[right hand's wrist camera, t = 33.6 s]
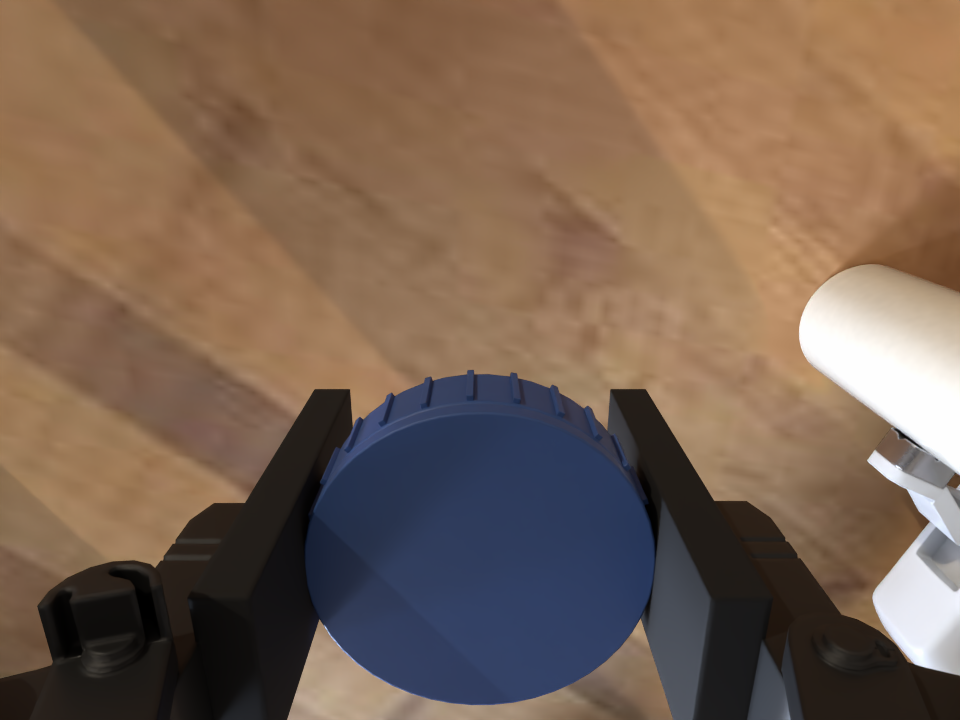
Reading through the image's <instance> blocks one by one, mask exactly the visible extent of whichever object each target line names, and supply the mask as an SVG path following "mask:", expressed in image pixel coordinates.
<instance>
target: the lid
mask: <svg viewBox="0 0 960 720" xmlns="http://www.w3.org/2000/svg"><path fill="white" fill-rule="evenodd" d="M320 483H321V486H320V489H319V491H318V493H317V496H316V498H315V500H314V503H313V505H312V507H311V509H310V512H309V514H308V517H309V520H310V521H309V524H308V529H307V534H306V539H305V545H304V558H305V568H306V577H307V586H308V590H309V594H310V597H311V600H312V603H313V605H314V608H315V610H316V612H317V614H318V616H319V619H320V620H321V622H322V623H323V625H324V627H325V628H326V630H327V631H328V633H329V634H330V636H331V637H332V638H333V639H334V641H335V642H336V643H337V644H338V645H339V646H340V648H341V649H342V650H343V651H344V652H345V653H346V654H347V655H348V656H349V657H351V658H352V659H353V660H354V661H355V662H356V663H357V664H358V665H360V666H361V667H363V668H364V669H365V670H367V671H368V672H370V673H371V674H372V675H374V676H376V677H377V678H379V679H381V680H383V681H385V682H387V683H388V684H390V685H392V686H394V687H397V688H399V689H402V690H404V691H406V692H409V693H411V694H415V695H418V696H421V697H425V698H428V699H432V700H437V701H442V702H448V703H455V704H467V705H495V704H504V703H513V702H518V701H523V700H527V699H532V698H536V697H539V696H542V695H545V694H548V693H551V692H554V691H556V690H559V689H561V688H563V687H565V686H568V685H570V684H572V683H574V682H576V681H577V680H579V679H581V678H582V677H584V676H586V675H588V674H589V673H591V672H592V671H593V670H595V669H596V668H597V667H599V666H600V665H601V664H603V663H604V662H605V661H606V660H608V659H609V658H610V657H611V656H612V655H613V654H614V653H615V652H616V651H617V650H618V649H619V648H620V647H621V646H622V644H623V643H624V642H625V641H626V639H627V638H628V637H629V636H630V634H631V633H632V632H633V630H634V628H635V627H636V625H637V623H638V622H639V620H640V618H641V617H642V615H643V612H644V610H645V608H646V605H647V603H648V601H649V598H650V594H651V590H652V586H653V581H654V572H655V562H656V548H655V538H654V533H653V529H652V525H651V520H650V518H649V515H648V513H647V510H646V508H645V505H646V504H649V502H648V499H647V497H646V495H645V492H644V490H643V488H642V486H641V483H640V481H639V479H638V477H637V474H636V472H635V470H634V468H633V466H630V464H629V462H628V459H627V457H626V455H625V453H624V450H623V448H622V446H621V443H620V441H619V439H618V437H617V435H616V434H613V435H610V434H609V433H608V432H607V430H606V429H605V428H604V427H603V425H602V424H601V423H600V422H599V421H597V420H596V418H595V416H594V413H593V411H592V409H591V408H590V407H589V406H587V407H586V408H585V409H584V408H582V407H581V406H580V405H578V404H577V403H575V402H574V401H573V400H571V399H569V398H568V397H566V396H564V395H562V394H560V393H559V391H558V387H556V386H554V385H552V386H551V387H550V388H547V387H545V386H542V385H539V384H537V383H534V382H531V381H527V380H522V379H518V377H517V373H511V374H510V377H508V376H499V375H490V374H477V375H474V370H468V371H467V375H460V376H453V377H446V378H441V379H438V380H434V381H432V378H431V377H427V378H425V381H424V383H423V384H420V385H418V386H416V387H413V388H411V389H408V390H406V391H403V392H402V393H400V394H398V395H396V396H394V395H393V393H390V394H389V395H387V397H386V400H385V402H384V403H383V404H382V405H380V406H379V407H378V408H376V409H375V410H374V411H372V412H371V413H370V414H369V415H368V416H367V417H366V418H365V419H364V420H363V419H362V418H361V417H359V418H358V419H357V420H356V422H355V424H354V426H353V429H352V431H351V434H350V436H349V437H348V438H347V440H346V441H345V442H344V444H343V446H342V447H341V449H340V448H338V447H336V448H335V450H334V452H333V454H332V456H331V459H330V461H329V463H328V466H327V468H326V470H325V472H324V475H323V477H322V479H321V481H320Z"/></svg>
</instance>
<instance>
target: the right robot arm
mask: <svg viewBox="0 0 960 720" xmlns="http://www.w3.org/2000/svg"><path fill="white" fill-rule="evenodd" d="M352 429H353V425H352V411H351V398H350V389H315V390H314V391H313V393H312V395H311V396H310V398H309V400H308V401H307V403H306V404H305V406H304V408H303V409H302V411H301V413H300V414H299V416H298V417H297V419H296V421H295V422H294V424H293V426H292V427H291V429H290V431H289V432H288V434H287V435H286V437H285V439H284V440H283V442H282V444H281V445H280V447H279V448H278V450H277V452H276V453H275V455H274V457H273V458H272V460H271V462H270V463H269V465H268V466H267V468H266V470H265V471H264V473H263V475H262V476H261V478H260V479H259V481H258V483H257V484H256V486H255V488H254V489H253V491H252V493H251V494H250V496H249V497H248V499H247V501H246V502H245V503H214V504H212V505H211V506H209V507H208V508H207V509H205V510H204V511H202V512H201V513H199V514H198V515H197V516H195V517H194V518H192V519H191V520H190V521H189V522H188V524H187V525H186V526H185V528H184V529H183V531H182V532H181V533H180V535H179V536H178V537H177V539H176V543H175V544H172V546H171V547H170V548H169V550H168V551H167V553H166V554H165V555H164V560H163V561H160V562H159V564H158V565H157V566H156V568H154V567H153V566H152V565H151V564H147V563H143V562H139V561H135V560H132V561H114V562H109V563H105V564H102V565H98V566H94V567H90V568H88V569H86V570H83V571H81V572H79V573H77V574H75V575H73V576H70V577H68V578H67V579H65V580H64V581H62V582H61V583H60V584H58V585H57V586H56V587H54V588H53V589H51V590H50V591H49V592H48V593H47V594H46V596H45V597H44V598H43V600H42V601H41V602H40V603H39V605H38V606H37V607H38V611H39V614H40V618H41V621H42V625H43V628H44V632H45V635H46V639H47V642H48V646H49V649H50V653H51V656H52V660H53V664H52V665H51V666H48V667H45V668H41V669H38V670H34V671H30V672H26V673H21V674H17V675H13V676H8V677H4V678H0V720H287V718H288V715H289V712H290V709H291V706H292V702H293V699H294V696H295V693H296V690H297V687H298V684H299V681H300V678H301V675H302V671H303V668H304V665H305V662H306V659H307V656H308V653H309V650H310V647H311V643H312V640H313V637H314V634H315V631H316V628H317V625H318V622H319V616H318V614H317V612H316V610H315V608H314V605H313V603H312V600H311V597H310V594H309V590H308V586H307V577H306V568H305V558H304V545H305V539H306V534H307V529H308V524H309V521H310V520H309V517H308V514H309V512H310V509H311V507H312V505H313V503H314V500H315V498H316V496H317V493H318V491H319V489H320V486H321V483H320V481H321V479H322V477H323V475H324V472H325V470H326V468H327V466H328V463H329V461H330V459H331V456H332V454H333V452H334V450H335V448H336V447H338V448H340V449H341V447H342V446H343V444H344V442H345V441H346V440H347V438H348V437H349V436H350V434H351V431H352ZM607 432H608V433H609V434H610V435H613V434H616V435H617V437H618V439H619V441H620V443H621V446H622V448H623V450H624V453H625V455H626V457H627V459H628V462H629V464H630V466H633V468H634V470H635V472H636V474H637V477H638V479H639V481H640V483H641V486H642V488H643V490H644V492H645V495H646V497H647V499H648V502H649V504H646V505H645V508H646V510H647V513H648V515H649V518H650V520H651V525H652V529H653V533H654V538H655V548H656V562H655V572H654V581H653V586H652V590H651V594H650V598H649V601H648V603H647V605H646V608H645V610H644V612H643V615H642V617H641V620H642V623H643V627H644V630H645V633H646V636H647V639H648V642H649V645H650V648H651V651H652V655H653V658H654V661H655V664H656V667H657V670H658V673H659V676H660V679H661V683H662V686H663V689H664V692H665V695H666V698H667V701H668V704H669V707H670V711H671V714H672V717H673V720H960V675H955V674H951V673H947V672H942V671H938V670H934V669H930V668H925V667H922V666H918V665H915V664H912V663H909V662H907V660H906V659H905V657H904V656H903V654H902V653H901V652H900V650H899V649H898V647H897V646H896V645H895V644H894V643H893V642H892V641H891V640H889V639H888V638H887V637H886V636H885V635H883V634H882V633H881V632H880V631H878V630H876V629H875V628H873V627H871V626H869V625H867V624H865V623H863V622H861V621H859V620H857V619H854V618H850V617H847V616H843V615H841V614H840V612H839V611H838V609H837V608H836V607H835V605H834V604H833V603H832V601H831V600H830V599H829V597H828V596H827V594H826V593H825V592H824V590H823V589H822V588H821V586H820V585H819V583H818V582H817V581H816V579H815V578H814V577H813V575H812V574H811V572H810V571H809V570H808V568H807V567H806V566H805V564H804V563H803V561H802V560H801V559H800V558H797V553H796V552H795V551H794V549H793V548H792V546H791V545H790V544H789V542H786V541H785V537H784V535H783V534H782V533H781V531H780V530H779V529H778V527H777V526H776V524H775V523H774V522H773V520H772V519H771V518H770V517H769V516H767V515H766V514H764V513H763V512H761V511H760V510H759V509H757V508H756V507H754V506H753V505H751V504H750V503H749V502H747V501H714V500H713V498H712V497H711V495H710V493H709V492H708V490H707V489H706V487H705V485H704V484H703V482H702V480H701V479H700V477H699V475H698V474H697V472H696V471H695V469H694V467H693V466H692V464H691V462H690V461H689V459H688V458H687V456H686V454H685V453H684V451H683V449H682V448H681V446H680V444H679V443H678V441H677V440H676V438H675V436H674V435H673V433H672V431H671V430H670V428H669V427H668V425H667V423H666V422H665V420H664V418H663V417H662V415H661V413H660V412H659V410H658V409H657V407H656V405H655V404H654V402H653V400H652V399H651V397H650V396H649V394H648V392H647V391H646V389H611V390H610V403H609V417H608V430H607Z"/></svg>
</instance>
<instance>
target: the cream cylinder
mask: <svg viewBox="0 0 960 720" xmlns="http://www.w3.org/2000/svg"><path fill="white" fill-rule="evenodd" d="M799 337H800V344H801V348H802V351H803V353H804V355H805V357H806V359H807V360H808V361H809V363H810V364H811V365H812V366H813V367H814V368H815V369H817V370H818V371H819V372H821V373H822V374H823V375H825V376H826V377H827V378H829V379H830V380H831V381H833V382H834V383H835V384H837V385H838V386H839V387H841V388H842V389H843V390H845V391H846V392H847V393H849V394H850V395H852V396H853V397H854V398H856V399H857V400H858V401H860V402H861V403H862V404H864V405H865V406H866V407H868V408H869V409H870V410H872V411H873V412H874V413H876V414H877V415H878V416H880V417H881V418H882V419H884V420H885V421H887V422H888V423H889V424H891V425H892V426H893V427H895V428H896V429H897V430H899V431H900V432H901V433H903V434H904V435H905V436H907V437H908V438H909V439H911V440H912V441H913V442H915V443H916V444H918V445H919V446H920V447H922V448H923V449H924V450H926V451H927V452H928V453H930V454H931V455H932V456H934V457H935V458H936V459H938V460H939V461H940V462H942V463H943V464H944V465H946V466H947V467H948V468H950V469H951V470H953V471H954V472H955V473H957V474H958V475H959V476H960V292H959V291H956V290H953V289H950V288H948V287H945V286H942V285H939V284H937V283H934V282H931V281H928V280H926V279H923V278H920V277H917V276H914V275H912V274H909V273H906V272H903V271H901V270H898V269H895V268H892V267H889V266H885V265H879V264H867V265H860V266H856V267H852V268H849V269H846V270H844V271H842V272H840V273H838V274H836V275H835V276H833V277H831V278H830V279H829V280H827V281H826V282H825V283H824V284H822V285H821V286H820V287H819V288H818V289H817V290H816V292H815V293H814V294H813V295H812V297H811V298H810V300H809V301H808V303H807V305H806V307H805V309H804V311H803V314H802V317H801V322H800V328H799Z"/></svg>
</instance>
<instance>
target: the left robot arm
mask: <svg viewBox="0 0 960 720" xmlns="http://www.w3.org/2000/svg"><path fill="white" fill-rule="evenodd" d="M867 461H868V462H869V463H870V464H871V465H872V466H873V467H875V468H876V469H877V470H878V471H879V472H880V473H881V474H883V475H884V476H885V477H886V478H888V479H889V480H891V481H893V482H894V483H896V484H897V485H899V486H901V487H903V488H906V489H907V490H908V492H909V494H910V496H911V498H912V500H913V501H914V503H915V505H916V507H917V509H918V511H919V512H920V513H921V514H923V515H924V516H925V517H926V518H927V519H928V520H929V521H930V522H929V523H928V524H927V526H926V527H925V528H924V529H923V531H922V532H921V533H920V534H919V536H918V537H917V538H916V539H915V541H914V542H913V543H912V544H911V546H910V547H909V548H908V549H907V551H906V552H905V553H904V554H903V556H902V557H901V558H900V559H899V561H898V562H897V563H896V564H895V565H894V567H893V568H892V569H891V570H890V572H889V573H888V574H887V575H886V577H885V578H884V579H883V580H882V581H881V583H880V584H879V585H878V586H877V588H876V589H875V591H874V593H873V596H872V597H873V603H874V606H875V609H876V612H877V614H878V616H879V618H880V621H881V623H882V624H883V626H884V627H885V629H886V630H887V632H888V633H889V634H890V636H891V637H892V638H893V640H894V641H895V642H896V644H897V645H898V646H899V647H900V648H901V650H902V651H903V652H904V653H905V654H906V655H907V656H908V657H909V659H910V660H911V661H912V662H913V663H914V664H915V665H918V666H922V667H925V668H930V669H934V670H938V671H942V672H947V673H951V674H955V675H960V485H959V486H958V487H957V488H954V487H951V486H949V485H947V483H948V482H949V481H950V479H951V478H952V477H953V475H954V474H955V472H954V471H953V470H951V469H950V468H948V467H947V466H946V465H944V464H943V463H942V462H940V461H939V460H938V459H936V458H935V457H934V456H932V455H931V454H930V453H928V452H927V451H926V450H924V449H923V448H922V447H920V446H919V445H918V444H916V443H915V442H913V441H912V440H911V439H909V438H908V437H907V436H905V435H904V434H903V433H901V432H900V431H899V430H897V429H896V428H891V429H890V430H889V431H888V433H887V434H886V435H885V437H884V438H883V439H882V441H881V442H880V443H879V445H878V446H877V447H876V449H875V450H874V452H873V453H872V455H871V456H870V457H869V459H868V460H867Z"/></svg>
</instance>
